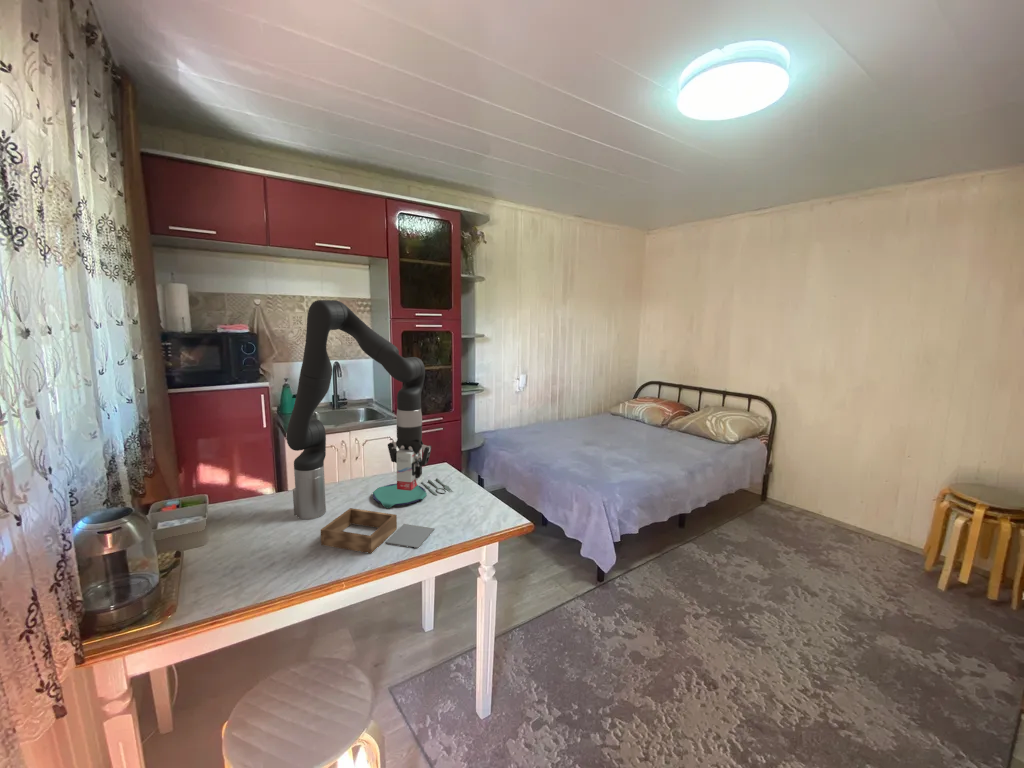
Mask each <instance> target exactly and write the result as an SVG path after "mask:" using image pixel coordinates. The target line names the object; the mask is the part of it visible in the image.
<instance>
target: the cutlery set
mask: <svg viewBox="0 0 1024 768" xmlns="http://www.w3.org/2000/svg"><path fill="white" fill-rule="evenodd" d="M435 481H436V482H437V483H439V484H440V485H441V486H442V487H443V488H442V487H438V486H437V485H436V484H435V482H433V481H432V480H431V479H428V483H430V484H431V485H433V487H435V488H436V492H435V491H434V490H432V489H431V486H429V485H427V484H425V483H424V481H421V482H420V483H421V484H422V485H424V487H425V488H426V489H427V490H428V491H429V492H430V493H431V494H432V495H434V496H438V494H437V493H439V494H444V493H446V492H447V491H448V492H449V493H452V492H453V493H454V491H453V490H452V489H451V488H450V486H449V485H447V484H444V483H443V482H442V481H441V480H440V479H439V478H438V477H437V478H435ZM424 487H423V486H421V485H419V484H418V485H417V486H416V487H415V488H414V489H412V490H411V491H410V490H400V489H397V483H391V484H387V485H384V486H380V487H379V486H378V487H377V489H375V490H374V491H373V492H372V499H373V500H374V501H376V502H377V503H379V504H381V505H382V506H383V507H384V508H386V509H390V508H392V507H393V506H406V505H410V504H413V503H417V502H419V501H423V500H424V499H425V498H426V497H427V496H428V495H427V492H426V489H425V488H424ZM438 490H442V491H444V492H440V491H438Z"/></svg>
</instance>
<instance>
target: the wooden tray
mask: <svg viewBox="0 0 1024 768" xmlns="http://www.w3.org/2000/svg"><path fill="white" fill-rule="evenodd" d="M397 518H398V517H397V514H394V513H387V512H380V511H372V510H365V509H359V508H348V509H347V510H346V511H344V512H343V513H341V514H340V515H339V516H337V517H336V518H335V519H334V520H331V522H329V523H328V524H326V525H325V526H323V527H322V528H321V529H320V542H321V543H320V544H321V546H323V547H324V546H325V547H332V548H336V549H337V548H338V549H341V550H342V549H343V550H349V551H356V552H359V551H361V553H365V552H368V553H367V554H371V553H372V552H373V551H374V550H375V549H376V548H377V547H378V548H379V547H380V546H381V545H382V544H383V543H385V542H386V541H387V540H388V539H389V538H390V537H391V536H392V535H393V534H394V533H395V532H396V531H397V530H398V526H397V524H398V519H397ZM351 525H357V526H358V525H359V526H365V527H370V528H371V527H372V528H376V530H374V531H373V532H372V534H370V535H368V534H363V533H362V534H361V533H355V532H349V531H344V530H346V529H347V528H348V527H350V526H351ZM378 548H377V549H378ZM377 549H376V550H377ZM376 550H375V551H376ZM375 551H374V552H375ZM374 552H373V553H374ZM373 553H372V554H373Z"/></svg>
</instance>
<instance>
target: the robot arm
mask: <svg viewBox="0 0 1024 768" xmlns="http://www.w3.org/2000/svg"><path fill="white" fill-rule="evenodd" d="M337 330H340V331H342V332H344V333H346V334H348V335H349V336H351V337H352V338H353V339H354V340H355V341H356V342H357V344H358V346H359V348H360V349H361V350H362V352H363V353H365V354H366V355H367V356H368V357H370V358H371V359H373V360H374V361H376V362H377V363H378V364H380V365H381V366H382V367H383V369H384V370H385V371H386V372H387V373H388V374H389V375H390V376H391V377H392V378H393V379H394V380H396V381H398V382H401V383H403V384H402V385H403V386H402V387H401V389H399V390H397V391H398V392H397V394H396V406H397V407H396V408H397V409H396V417H395V418H396V441H394V440H393V441H391V442H389V443H387V449H388V452H389V458H390V461H391V462H392V463H396V464H397V455H396V453H397V451H398V450H409V451H412V452H414V460H415V464H416V467H415V478H419V477H420V476H421V475H422V476H423V467H424V466H426V465H427V464H429V460H430V456H431V452H432V445H431V444H430V445H427V444H424V442H423V439H422V438H423V413H422V391H423V387H424V382H425V377H426V368H425V364H424V362H423V361H422V359H421V358H419V357H417V356H411V357H410V356H409V357H403V356H402V355H400V351H399V348H398V347H397V346H396V345H395V344H393V343H392V342H390V341H389V340H387V339H386V338H384V336H382V335H380V334H378V333H377V332H376V331H375V330H374V329H372V328H370V326H368V325H367V324H366V323H365V322H364V321H363V320H362V319H360V317H359V316H357V314H355V313H354V312H353V311H352V310H351V309H350V307H348V306H347V305H346V304H344V303H343V302H342V301H339V300H334V299H332V300H331V299H328V300H327V299H318V300H315V301H313V302H312V303H311V305H310V307H309V308H308V311H307V318H306V330H305V331H306V332H305V333H306V334H305V344H304V345H305V346H304V351H303V357H302V363H301V366H300V372H299V377H298V385H297V390H296V391H297V392H296V395H295V400H294V405H293V408H292V412H291V415H290V419H289V422H288V424H287V425H288V426H287V428H286V437H285V438H286V443H287V446H288V447H289V448H290V449H291V450H292V451H302V452H301V453H300V454H299V455H298V456H297V457H296V458H295V459H294V461H293V473H294V475H293V476H294V488H293V489H292V500H293V503H292V504H293V516H295V515H297V516H296V517H297V518H298V517H299V518H298V519H300V518H301V519H300V520H313V519H316V518H320V517H321V516H323V515H325V513H326V512H327V509H326V508H327V505H326V502H327V501H326V482H325V459H326V454H327V453H326V452H327V450H326V449H327V443H326V442H327V438H326V437H327V436H326V435H327V434H326V429H325V426H324V424H323V422H322V421H321V420H319V419H317V418H312V416H313V414H314V412H315V411H316V410H317V408H318V406H319V405H320V403H321V402H322V401H323V399H325V397H326V396H327V393H328V392H329V389H330V386H331V381H332V376H333V365H332V362H331V359H330V357H329V354H328V348H327V343H328V338H329V334H330V331H337ZM397 448H398V450H397ZM421 448H422V458H421V453H420V450H421ZM416 454H418V456H416Z"/></svg>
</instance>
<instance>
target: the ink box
mask: <svg viewBox="0 0 1024 768" xmlns="http://www.w3.org/2000/svg"><path fill="white" fill-rule="evenodd" d="M420 453H421V458H423V449H422V448H421V450H420ZM396 455H397V463H396V484H397V489H400V490H410V491H411V490H412V489H414V488H415V487H416V486H417V485H418V486H419V484H420V483H421V482H423V474H422V475H421V476H420V477H419V478H415V467H416V464H415V460H414V452H412V451H409V450H399V449H398V450H397V453H396ZM416 456H418V454H416Z"/></svg>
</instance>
